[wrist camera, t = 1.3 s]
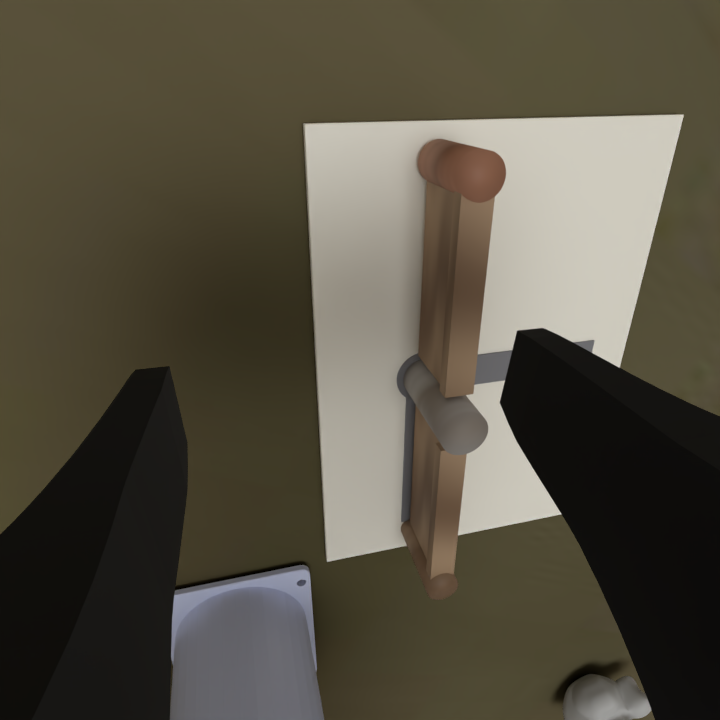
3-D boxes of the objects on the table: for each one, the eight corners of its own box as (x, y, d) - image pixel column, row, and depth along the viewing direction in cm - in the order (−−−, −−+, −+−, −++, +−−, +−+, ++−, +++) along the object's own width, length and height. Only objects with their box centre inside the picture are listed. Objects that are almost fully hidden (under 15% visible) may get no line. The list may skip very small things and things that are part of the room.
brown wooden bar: (443, 352, 24) (480, 395, 21) (409, 356, 24) (442, 401, 20) (458, 138, 20) (509, 149, 17) (418, 139, 20) (461, 151, 16)
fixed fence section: (430, 533, 30) (465, 605, 26) (396, 540, 29) (427, 614, 25) (444, 354, 25) (490, 409, 20) (403, 360, 24) (442, 416, 20)
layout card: (579, 505, 33) (584, 510, 32) (325, 556, 29) (327, 563, 29) (676, 114, 22) (685, 114, 22) (302, 123, 19) (305, 124, 19)
